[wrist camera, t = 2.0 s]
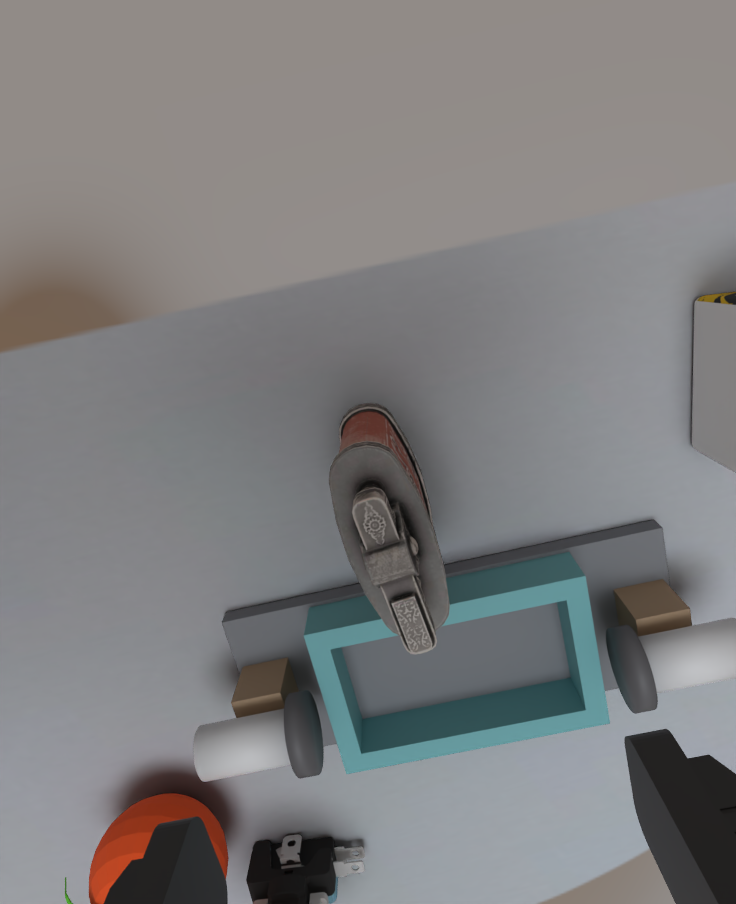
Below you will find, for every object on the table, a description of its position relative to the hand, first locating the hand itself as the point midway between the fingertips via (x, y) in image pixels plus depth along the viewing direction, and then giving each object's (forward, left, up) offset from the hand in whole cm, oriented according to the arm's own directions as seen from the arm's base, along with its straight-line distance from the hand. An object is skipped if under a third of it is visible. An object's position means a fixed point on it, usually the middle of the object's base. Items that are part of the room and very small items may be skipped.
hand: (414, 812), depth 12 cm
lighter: (0, 0, -20) cm, 20 cm away
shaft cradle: (+1, -9, -20) cm, 22 cm away
